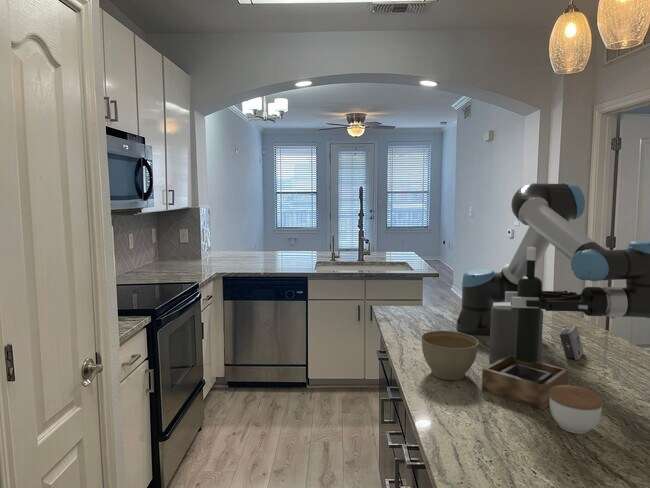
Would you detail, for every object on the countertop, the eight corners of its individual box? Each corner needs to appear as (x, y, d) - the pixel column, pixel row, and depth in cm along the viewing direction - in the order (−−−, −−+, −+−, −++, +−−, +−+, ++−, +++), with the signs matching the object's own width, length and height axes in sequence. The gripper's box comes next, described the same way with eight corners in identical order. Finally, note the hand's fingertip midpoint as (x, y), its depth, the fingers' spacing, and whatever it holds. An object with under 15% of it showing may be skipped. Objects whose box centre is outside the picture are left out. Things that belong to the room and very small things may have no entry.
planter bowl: (437, 389, 124) (438, 350, 123) (411, 367, 140) (411, 332, 138) (489, 382, 128) (490, 345, 127) (457, 362, 144) (458, 328, 143)
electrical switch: (578, 361, 144) (576, 332, 144) (560, 359, 148) (558, 331, 147) (583, 353, 152) (582, 326, 151) (566, 351, 155) (565, 324, 154)
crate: (481, 390, 123) (482, 368, 123) (508, 374, 134) (509, 354, 134) (542, 410, 112) (544, 386, 111) (567, 391, 123) (568, 369, 122)
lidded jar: (538, 416, 109) (540, 378, 108) (580, 414, 110) (583, 377, 109) (565, 440, 98) (567, 398, 97) (612, 438, 99) (615, 397, 98)
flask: (538, 361, 144) (541, 299, 142) (542, 368, 139) (545, 304, 136) (488, 357, 148) (490, 297, 146) (489, 364, 142) (492, 301, 140)
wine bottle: (513, 360, 121) (518, 247, 117) (516, 353, 126) (520, 245, 122) (537, 364, 118) (543, 248, 115) (539, 357, 123) (544, 246, 120)
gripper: (619, 326, 109) (518, 323, 112) (585, 307, 127) (499, 304, 130) (621, 295, 108) (519, 292, 111) (586, 280, 127) (500, 279, 129)
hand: (508, 299), depth 121 cm, fingers closed on wine bottle, 6 cm apart
